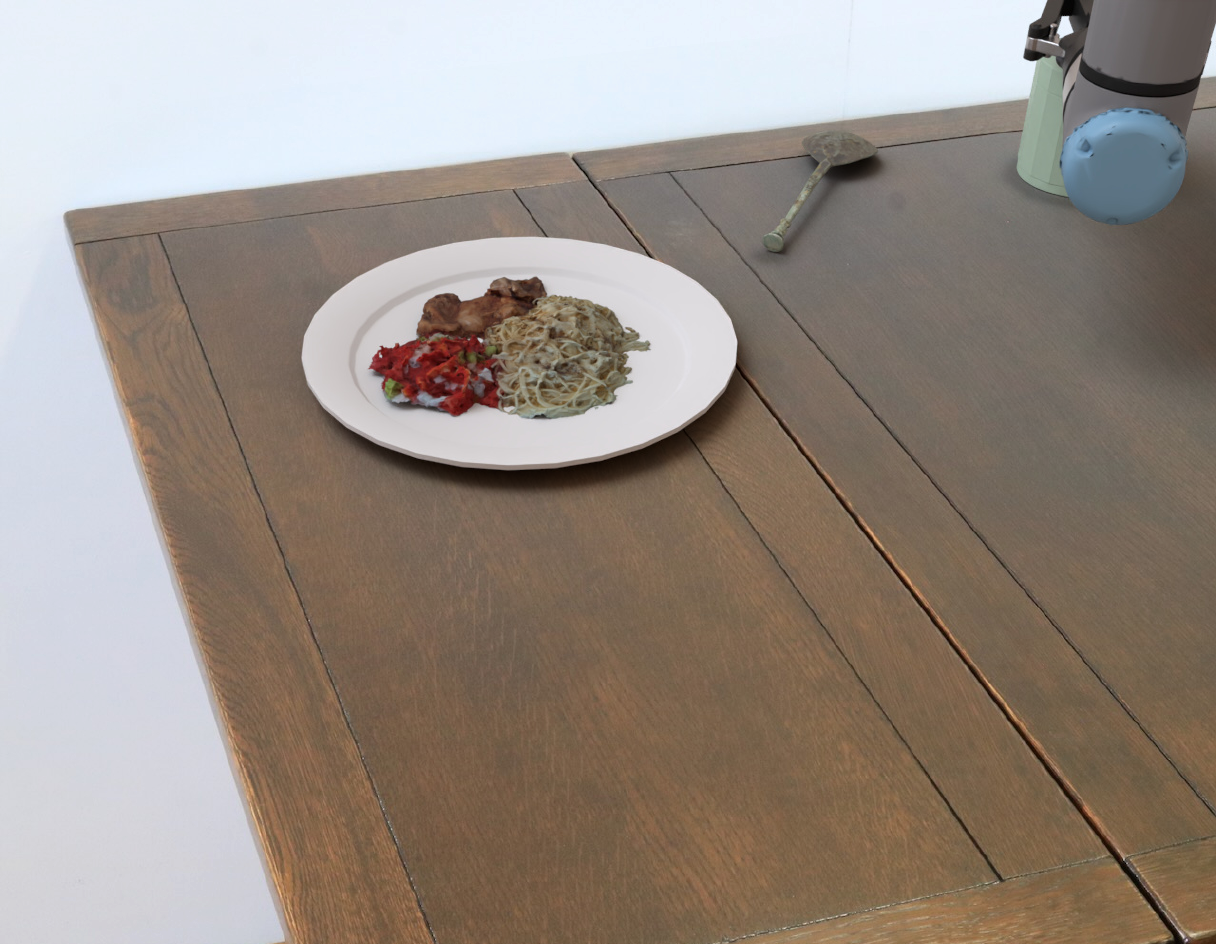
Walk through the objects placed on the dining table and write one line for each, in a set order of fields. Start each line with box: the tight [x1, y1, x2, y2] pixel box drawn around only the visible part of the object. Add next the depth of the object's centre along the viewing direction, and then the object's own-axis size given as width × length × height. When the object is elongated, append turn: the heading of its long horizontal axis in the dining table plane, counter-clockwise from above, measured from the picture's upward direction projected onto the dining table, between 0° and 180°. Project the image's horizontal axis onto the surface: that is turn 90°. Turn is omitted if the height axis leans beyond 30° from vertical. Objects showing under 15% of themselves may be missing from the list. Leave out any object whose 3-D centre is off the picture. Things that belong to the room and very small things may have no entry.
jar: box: [1016, 37, 1069, 198], centre depth 125 cm, size 10×10×10 cm
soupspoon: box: [762, 129, 879, 253], centre depth 124 cm, size 22×3×7 cm
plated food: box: [301, 236, 738, 471], centre depth 103 cm, size 30×30×3 cm
